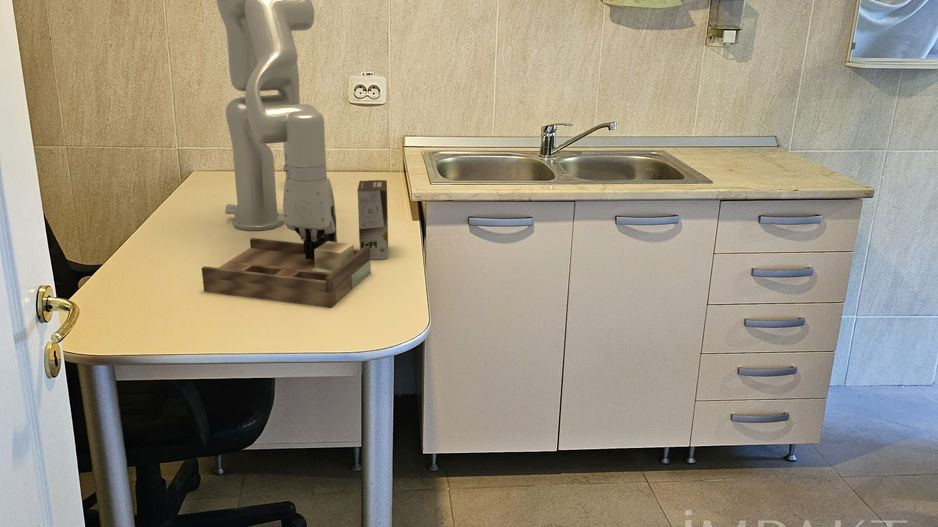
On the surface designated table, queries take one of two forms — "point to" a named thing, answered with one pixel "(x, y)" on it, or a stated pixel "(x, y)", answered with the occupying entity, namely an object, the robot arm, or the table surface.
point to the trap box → (286, 274)
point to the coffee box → (373, 217)
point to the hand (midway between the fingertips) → (312, 257)
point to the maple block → (332, 255)
